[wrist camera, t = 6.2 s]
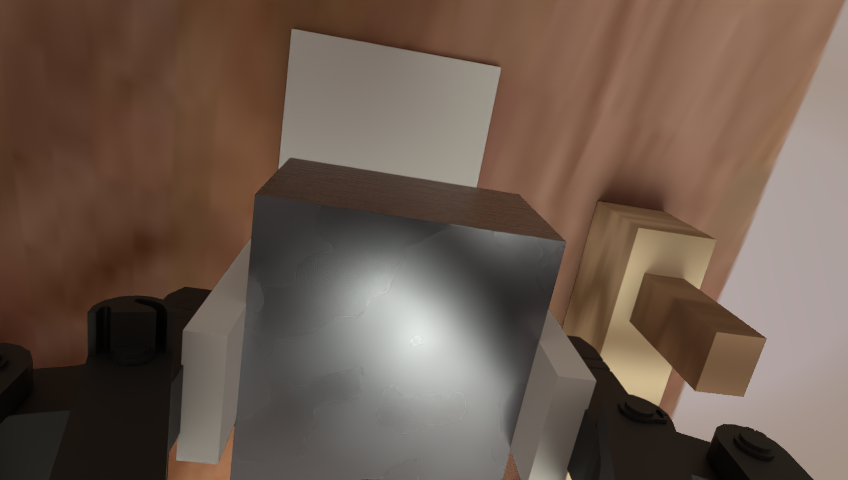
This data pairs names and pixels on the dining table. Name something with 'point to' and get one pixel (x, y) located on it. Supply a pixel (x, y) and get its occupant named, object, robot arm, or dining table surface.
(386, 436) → the lever cap
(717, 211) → the dining table surface
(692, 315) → the wooden peg base
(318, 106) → the mat
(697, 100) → the dining table surface
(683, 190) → the dining table surface
